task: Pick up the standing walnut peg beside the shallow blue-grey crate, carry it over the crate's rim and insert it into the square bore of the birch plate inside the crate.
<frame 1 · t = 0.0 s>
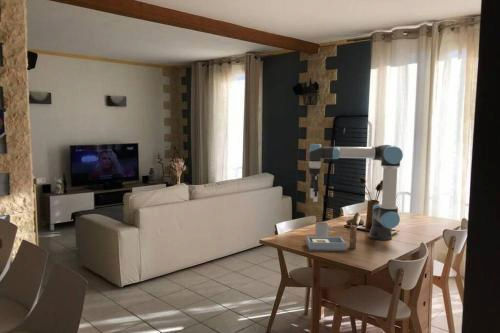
hand: (313, 199, 263), 28 cm above the table, fingers open, 13 cm apart
mug: (323, 239, 272), on the table
peg: (352, 247, 252), on the table
crate: (325, 247, 252), on the table
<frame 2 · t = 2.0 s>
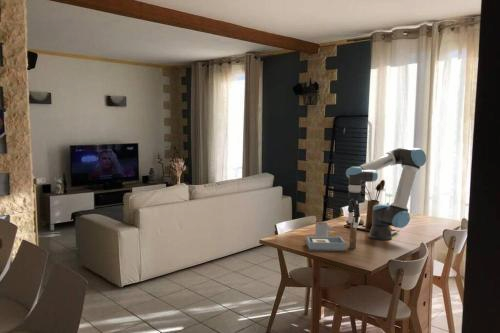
hand: (352, 225, 251), 15 cm above the table, fingers open, 13 cm apart
nothing on the table moved.
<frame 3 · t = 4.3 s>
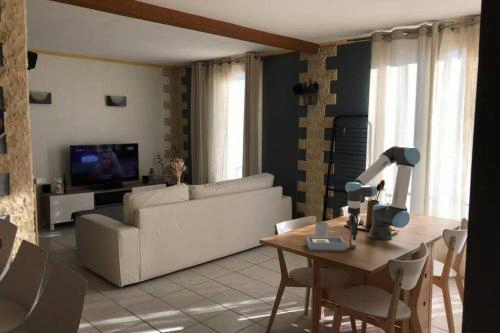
hand: (352, 243, 252), 3 cm above the table, fingers closed on peg, 4 cm apart
peg: (352, 247, 252), on the table, touching gripper
everything else where it was.
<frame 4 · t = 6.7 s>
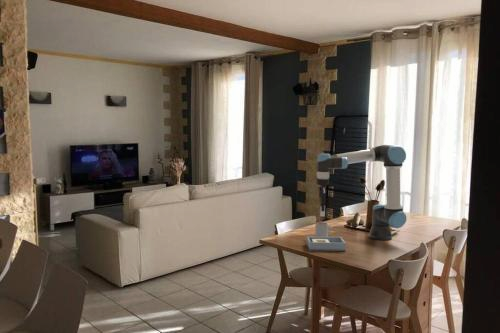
hand: (321, 215, 250), 21 cm above the table, fingers closed on peg, 4 cm apart
peg: (321, 219, 251), point 18 cm above the table, touching gripper
everything else where it was.
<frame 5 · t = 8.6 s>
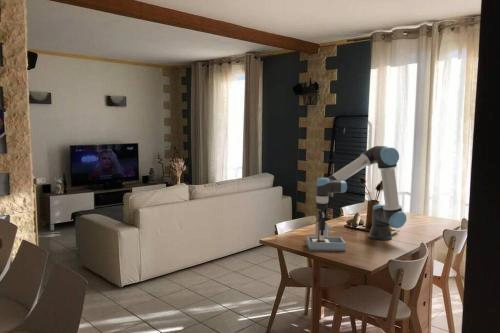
hand: (320, 239, 252), 5 cm above the table, fingers closed on peg, 4 cm apart
peg: (320, 244, 252), point 2 cm above the table, touching gripper
everything else where it was.
when the fingers open (5 cm above the table, at t = 9.5 s): peg stays where it is, resting on crate.
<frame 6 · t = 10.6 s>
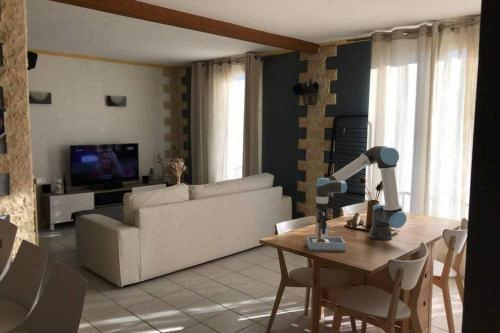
hand: (321, 236, 252), 7 cm above the table, fingers open, 13 cm apart
peg: (320, 245, 252), point 1 cm above the table, touching crate
everything else where it was.
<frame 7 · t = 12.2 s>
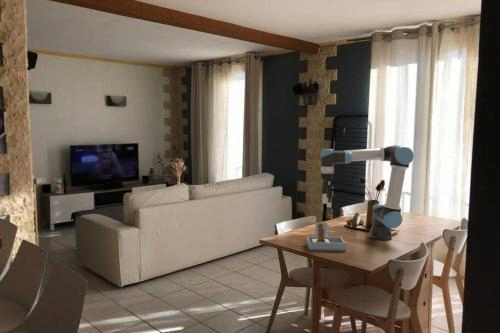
hand: (326, 205, 260), 25 cm above the table, fingers open, 13 cm apart
nothing on the table moved.
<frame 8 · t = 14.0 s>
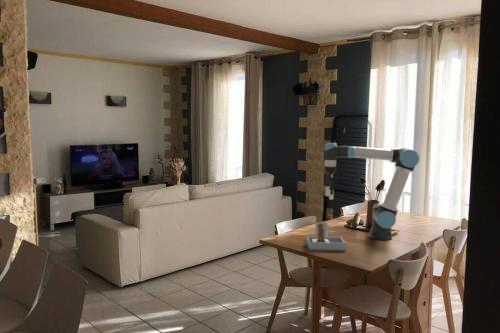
hand: (329, 197, 269), 29 cm above the table, fingers open, 13 cm apart
nothing on the table moved.
at the end: peg 0.0 cm from the target spot on the crate, point 1.0 cm above the crate's base; peg tilted 0°; the gripper is holding nothing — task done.
